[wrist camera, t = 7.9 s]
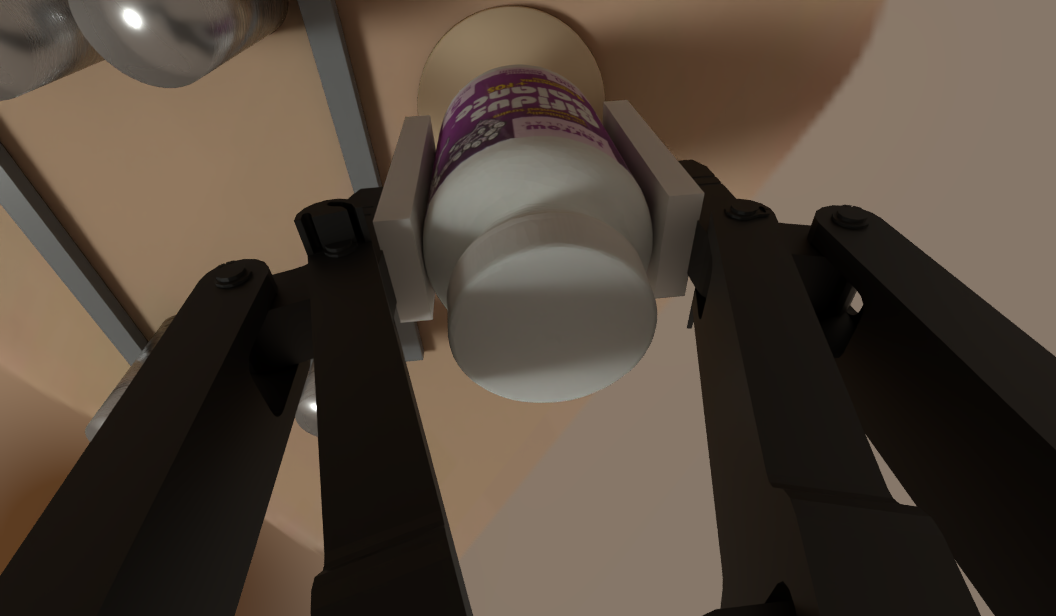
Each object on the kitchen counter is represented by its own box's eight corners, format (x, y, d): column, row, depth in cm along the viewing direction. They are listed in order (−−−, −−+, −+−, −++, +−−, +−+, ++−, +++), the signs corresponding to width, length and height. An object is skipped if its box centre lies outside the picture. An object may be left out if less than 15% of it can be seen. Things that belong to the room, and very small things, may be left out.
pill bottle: (576, 32, 15) (688, 160, 7) (610, 189, 18) (709, 387, 11) (409, 92, 15) (351, 267, 8) (471, 233, 19) (472, 450, 11)
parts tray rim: (-216, -95, 13) (-240, -94, 13) (303, -124, 14) (297, -125, 14) (153, 378, 26) (147, 387, 25) (424, 351, 26) (423, 359, 26)
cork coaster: (400, 12, 16) (398, 15, 16) (608, -2, 17) (610, 0, 16) (435, 203, 21) (434, 208, 20) (598, 189, 21) (600, 193, 21)
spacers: (-111, -49, 14) (-391, -28, 10) (268, -72, 15) (175, -62, 10) (178, 359, 25) (112, 463, 20) (392, 339, 25) (375, 435, 21)
